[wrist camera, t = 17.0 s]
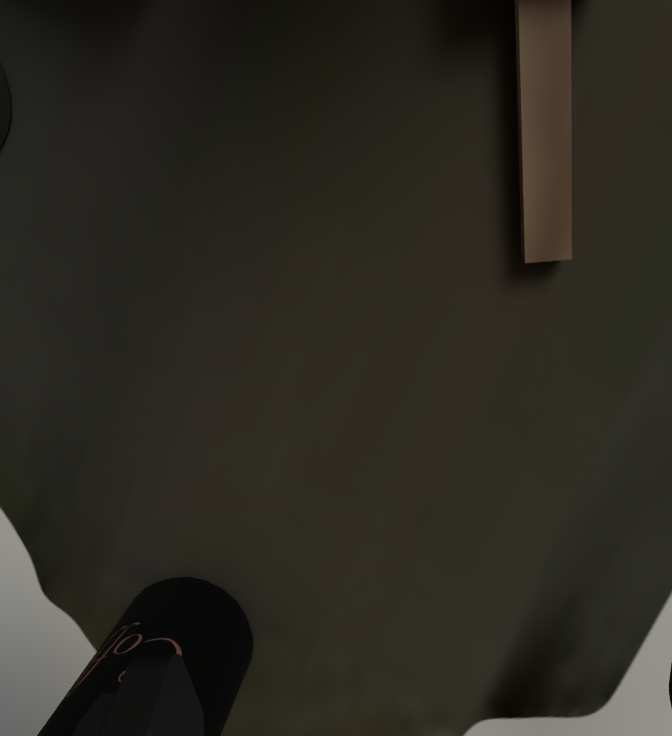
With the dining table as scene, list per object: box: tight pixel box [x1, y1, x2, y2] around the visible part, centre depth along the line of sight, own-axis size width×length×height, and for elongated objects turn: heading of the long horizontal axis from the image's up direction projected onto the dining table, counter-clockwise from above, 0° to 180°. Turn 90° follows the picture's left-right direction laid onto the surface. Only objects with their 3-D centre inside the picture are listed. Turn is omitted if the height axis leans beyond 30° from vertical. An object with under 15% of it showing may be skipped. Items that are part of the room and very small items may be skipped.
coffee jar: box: [37, 577, 253, 736], centre depth 45 cm, size 11×11×18 cm
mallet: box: [514, 0, 572, 263], centre depth 33 cm, size 6×19×5 cm, turn 7°
